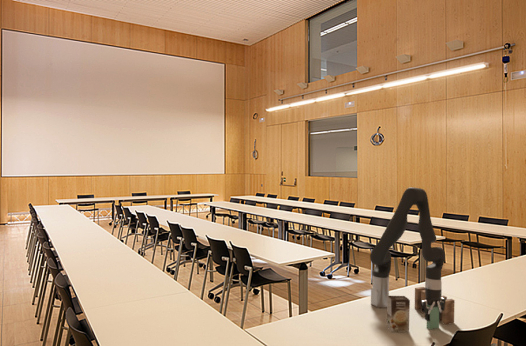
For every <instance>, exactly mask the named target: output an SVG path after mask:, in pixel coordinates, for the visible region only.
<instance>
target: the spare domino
mask: <svg viewBox="0 0 526 346" xmlns="http://www.w3.org/2000/svg"><path fill="white" fill-rule="evenodd" d="M427 307H429V308H430V305H428V304H427ZM427 311H428V308H427ZM433 328H435V329H439V328H440V320H439V309H438V306H437V307H434V308H433V309H432V310H431V311H430V321H427V320H426V329H428V330H429V329H430V330H433Z"/></svg>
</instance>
